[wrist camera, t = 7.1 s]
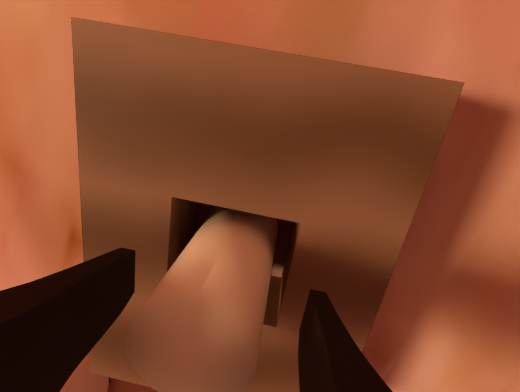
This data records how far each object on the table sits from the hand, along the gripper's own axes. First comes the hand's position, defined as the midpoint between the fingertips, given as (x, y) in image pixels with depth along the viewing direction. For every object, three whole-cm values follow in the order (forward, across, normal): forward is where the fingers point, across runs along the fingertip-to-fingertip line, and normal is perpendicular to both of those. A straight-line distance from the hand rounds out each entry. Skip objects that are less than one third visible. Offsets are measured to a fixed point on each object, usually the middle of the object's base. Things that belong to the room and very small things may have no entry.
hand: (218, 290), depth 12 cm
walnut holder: (+6, 0, 0) cm, 6 cm away
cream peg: (+6, 0, 0) cm, 6 cm away
